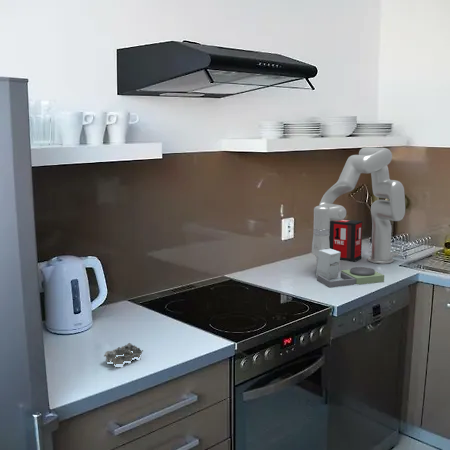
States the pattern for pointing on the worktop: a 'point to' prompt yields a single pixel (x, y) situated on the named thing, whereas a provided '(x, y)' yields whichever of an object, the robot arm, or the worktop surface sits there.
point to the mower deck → (354, 277)
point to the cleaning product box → (346, 239)
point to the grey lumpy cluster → (123, 350)
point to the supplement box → (328, 263)
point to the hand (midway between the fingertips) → (320, 270)
